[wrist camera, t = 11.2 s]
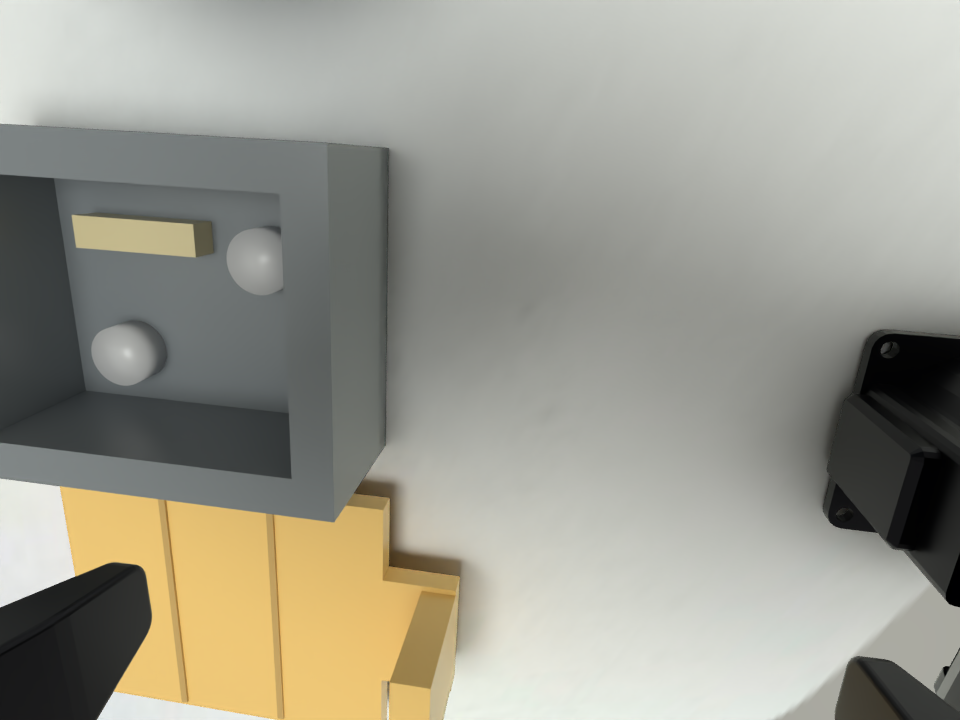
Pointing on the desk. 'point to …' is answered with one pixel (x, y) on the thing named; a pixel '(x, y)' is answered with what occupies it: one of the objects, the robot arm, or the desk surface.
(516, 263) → the desk surface
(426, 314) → the desk surface
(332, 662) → the snap lid
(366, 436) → the parts tub
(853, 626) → the desk surface
